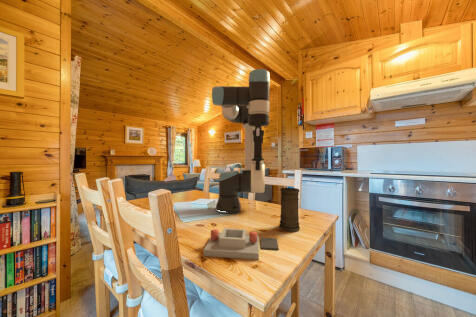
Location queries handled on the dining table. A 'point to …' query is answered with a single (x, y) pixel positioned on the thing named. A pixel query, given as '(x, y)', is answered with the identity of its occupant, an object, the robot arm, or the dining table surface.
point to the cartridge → (258, 185)
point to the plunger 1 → (214, 234)
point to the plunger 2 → (253, 237)
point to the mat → (269, 243)
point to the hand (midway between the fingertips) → (257, 178)
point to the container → (289, 210)
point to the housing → (233, 245)
